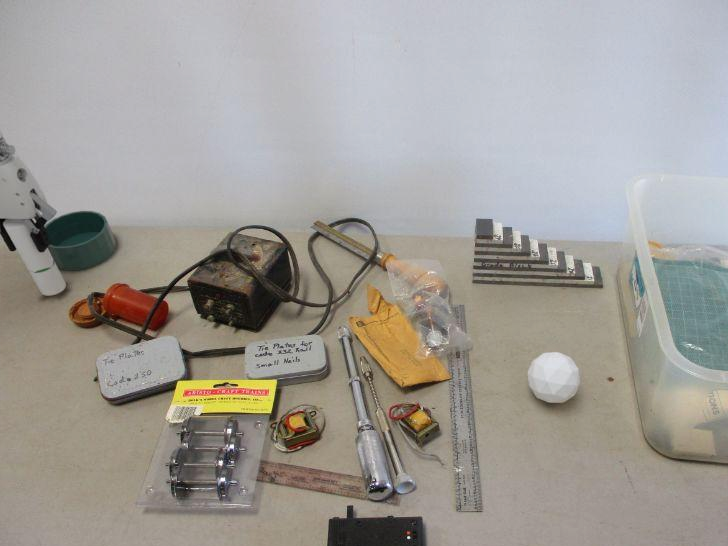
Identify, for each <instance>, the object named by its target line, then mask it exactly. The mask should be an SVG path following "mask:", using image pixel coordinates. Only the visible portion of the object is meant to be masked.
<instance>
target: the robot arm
mask: <svg viewBox="0 0 728 546" xmlns="http://www.w3.org/2000/svg"><path fill="white" fill-rule="evenodd" d="M57 214H58V211H57V209H55V208H54V207H53V206H51V205H50V204H49V203H48V200H47V198H46V195H45V194H44V192H43V190H42V188H41V186H40V184H39V182H38V181H37V179H36V177H35V175H34V174H33V173H32V171H31V169H30V168H29V166H28V165H27V164H26V163H25V161H24V160H23V159H22V157H21V156H20V155H19V154H18V153H17V152H16V147H15V146H14V145H13V144H8V142H7V140H6V139H5V136H4V135H3V133H2V130H1V129H0V237H1V238H2V240H3V241H4V243H5V245H6V247H7V249H8V251H10V252H15V251H17V249H16V247H15V245H14V243H13V242H12V240H11V238H10V236H9V234H8V233H7V231H6V229H5V227H4V225H3V223H4V221H5V220H6V219H22V220H23V221H24V223H25V224H26V225H27V226H28V228H29V229H30V230H31V231H32V232H31V233H30V236H31V238H32V240H33V242H34V244H35V246H36V248H37V250H38V251H39V252H44V251H45V250H46V249H47V247H48V246H49V245H50V243H51V239H50V237H49V235H48V233H47V231H46V229H45V225H46V224H47V222H48V223H49V222H50V221H51V220H53V218H54V217H55V216H56V215H57ZM32 219H33V220H32Z"/></svg>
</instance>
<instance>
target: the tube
mask: <svg viewBox="0 0 728 546" xmlns="http://www.w3.org/2000/svg"><path fill="white" fill-rule="evenodd" d="M32 220H33V221H34V218H32ZM3 225H4V227H5V229H6V231H7V233H8V234H9V236H10V238H11V240H12V242H13V243H14V245H15V247H16V251H17V252H18V254H19V256H20V258H21V260H22V261H23V263H24V265H25V267H26V268H27V270H28V272H29V274H30V276H31V277H32V279H33V281H34V283H35V284H36V287H37V288H38V290H39V291H40V293H41V294H42V295H43V296H48V297H49V296H50V297H51V296H55V295H59V293H62V292H63V291H64V290H65V289H66V287H67V283H66V281H65V278H63V275H62V273H61V271H60V270H59V269H60V268H58V267H57V265H56V264H55V262H54V260H53V258H52V256H51V254H50V252H49V250H48V248H47V249H46V250H45V251H44V252H39V251H38V250H37V248H36V246H35V244H34V242H33V240H32V238H31V236H30V233H31V232H32V231H31V230H30V229H29V228H28V226H27V225H26V224H25V223H24V221H23V220H22V219H6V220H5V221H4V223H3Z"/></svg>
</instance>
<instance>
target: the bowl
mask: <svg viewBox="0 0 728 546" xmlns="http://www.w3.org/2000/svg"><path fill="white" fill-rule="evenodd" d="M44 227H45V229H46V231H47V233H48V235H49V237H50V239H51V243H50V245H49V246H48V247H47V248H48V250H49V252H50V254H51V256H52V258H53V260H54V262H55V264H56V265H57V267H58V269H61V270H65V271H81V270H87V269H89V268H90V269H91V268H93V267H96V266H97V265H101V264H102V263H104V262H105V261H106V260H108V259H109V258H110V257H111V256H112V255H113V253H114V252H115V250H116V247H117V243H116V239H115V237H114V234H113V231H112V229H111V227H110V224H109V222H108V220H107V218H106V215H105V216H104V215H103V214H101V213H100V212H97V211H93V210H78V211H73V212H72V211H71V212H68V213H65V214H62V215H60V216H57V217H56V218H54V219H53V218H52V219H51V220H50V221H48V223H46V224H45V225H44Z"/></svg>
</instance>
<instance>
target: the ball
mask: <svg viewBox="0 0 728 546" xmlns="http://www.w3.org/2000/svg"><path fill="white" fill-rule="evenodd" d="M526 373H527V380H528V386H529V388H530V390H531V391H532V393H533V394H534V395H535V397H536V398H537V399H538V400H541V401H544V402H547V403H549V404H564V403H565V402H567V401H568V400H570V399H571V398H573V397H574V396H576V394H577V391H578V389H579V387H580V385H581V378H580V377H581V376H580V370H579V367H578V366H577V365H576V363H575V362H574V360H573V358H572V357H570V356H568V355H566V354H564V353H561V352H559V351H554V352H552V351H551V352H543V353H542V354H541V355H539V356H538V357H536V358H534V359H533V360H532V361H531V364H530V366H529V368H528V370H527V372H526Z"/></svg>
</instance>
